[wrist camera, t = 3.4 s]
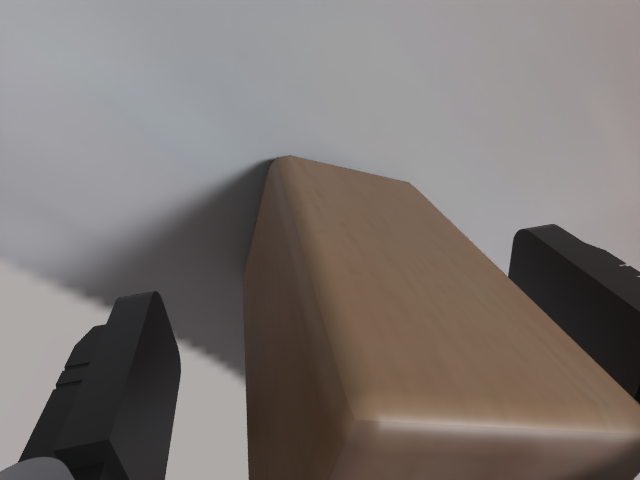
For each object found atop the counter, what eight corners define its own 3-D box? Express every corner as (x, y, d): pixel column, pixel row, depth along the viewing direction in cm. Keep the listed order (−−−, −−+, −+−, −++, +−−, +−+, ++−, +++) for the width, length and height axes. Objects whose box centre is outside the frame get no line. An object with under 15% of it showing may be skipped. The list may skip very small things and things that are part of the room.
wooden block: (239, 283, 12) (246, 655, 5) (271, 147, 10) (346, 422, 3) (369, 300, 13) (521, 626, 6) (416, 180, 11) (697, 438, 5)
